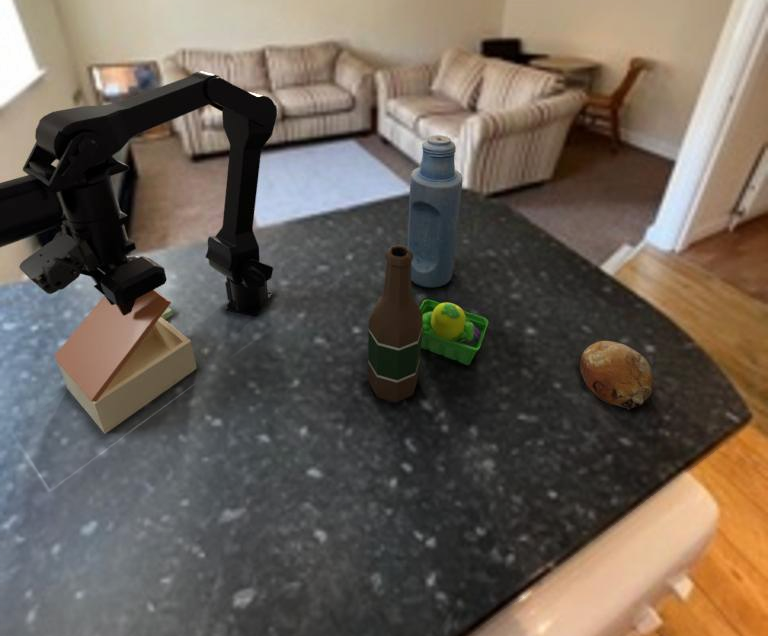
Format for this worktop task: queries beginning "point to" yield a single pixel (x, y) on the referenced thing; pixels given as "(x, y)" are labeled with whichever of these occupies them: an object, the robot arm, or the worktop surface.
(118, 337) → the box lid
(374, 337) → the beer bottle
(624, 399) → the brown oval lump
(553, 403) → the worktop surface
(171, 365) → the wooden box
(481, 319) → the fruit basket
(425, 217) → the bottle
